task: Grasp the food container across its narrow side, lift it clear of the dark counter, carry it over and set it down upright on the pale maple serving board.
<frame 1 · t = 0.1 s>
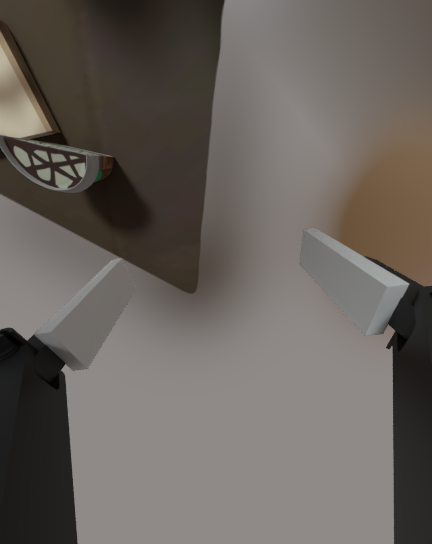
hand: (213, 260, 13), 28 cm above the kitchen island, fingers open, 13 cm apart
food container: (90, 169, 33), on the kitchen island
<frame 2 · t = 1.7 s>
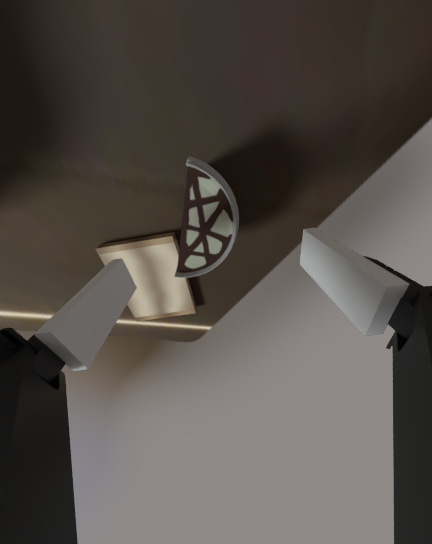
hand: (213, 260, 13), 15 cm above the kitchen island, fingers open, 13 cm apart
board: (154, 279, 32), on the kitchen island
food container: (209, 212, 26), on the kitchen island
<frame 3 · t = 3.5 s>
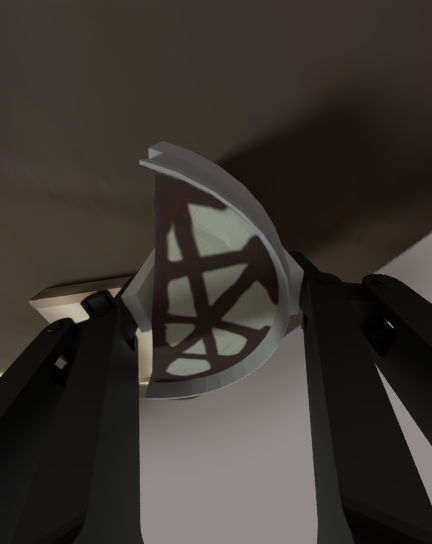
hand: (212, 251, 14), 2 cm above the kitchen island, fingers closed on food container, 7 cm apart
board: (132, 333, 21), on the kitchen island
food container: (214, 243, 16), on the kitchen island, touching gripper
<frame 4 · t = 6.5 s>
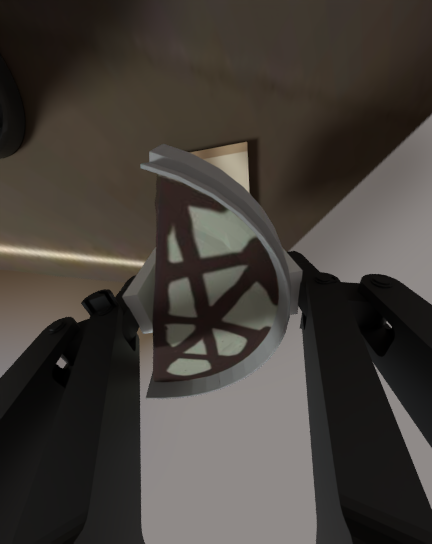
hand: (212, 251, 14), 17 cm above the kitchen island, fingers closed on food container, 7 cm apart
board: (211, 209, 29), on the kitchen island
food container: (215, 243, 16), point 15 cm above the kitchen island, touching gripper
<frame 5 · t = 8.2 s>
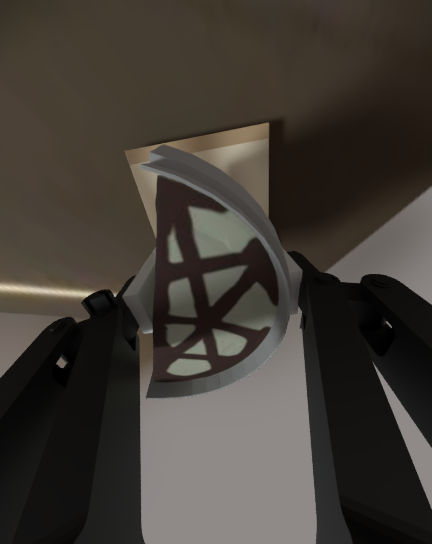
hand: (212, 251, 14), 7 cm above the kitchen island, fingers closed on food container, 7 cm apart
board: (211, 226, 20), on the kitchen island
food container: (215, 243, 16), point 5 cm above the kitchen island, touching gripper
when the fingers open (5 cm above the kitchen island, at t = 9.4 s): food container drops 2 cm, resting on board.
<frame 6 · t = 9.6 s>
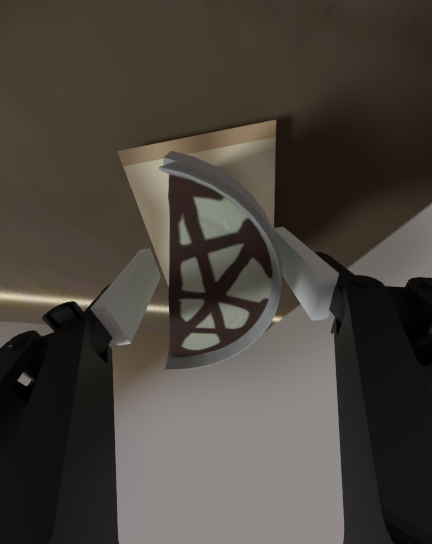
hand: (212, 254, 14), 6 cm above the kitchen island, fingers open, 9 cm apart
board: (212, 231, 19), on the kitchen island
food container: (218, 237, 17), point 2 cm above the kitchen island, touching board
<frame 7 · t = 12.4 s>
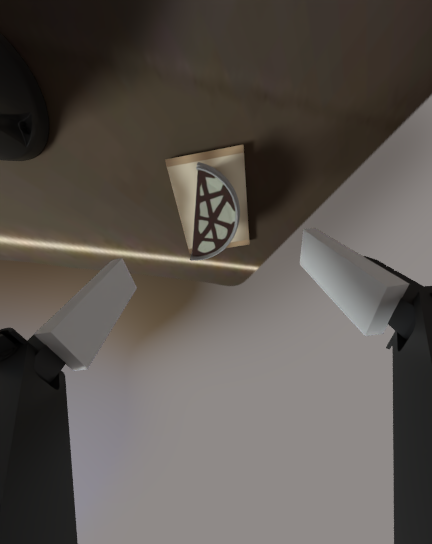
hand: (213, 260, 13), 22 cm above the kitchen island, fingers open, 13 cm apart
board: (212, 205, 32), on the kitchen island
food container: (215, 207, 30), point 2 cm above the kitchen island, touching board
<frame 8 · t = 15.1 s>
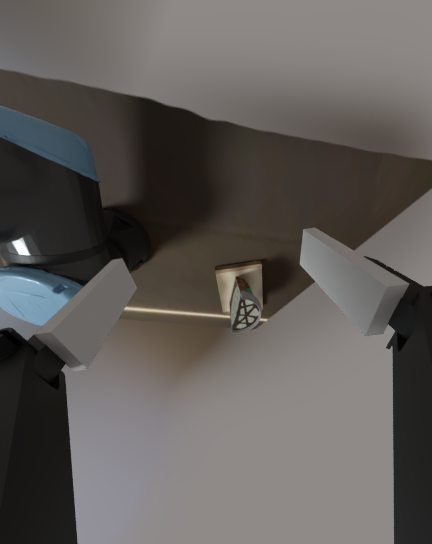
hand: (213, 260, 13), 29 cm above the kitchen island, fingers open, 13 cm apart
board: (239, 287, 50), on the kitchen island
food container: (242, 291, 49), point 2 cm above the kitchen island, touching board
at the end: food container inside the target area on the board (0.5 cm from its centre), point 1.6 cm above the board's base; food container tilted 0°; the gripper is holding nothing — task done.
